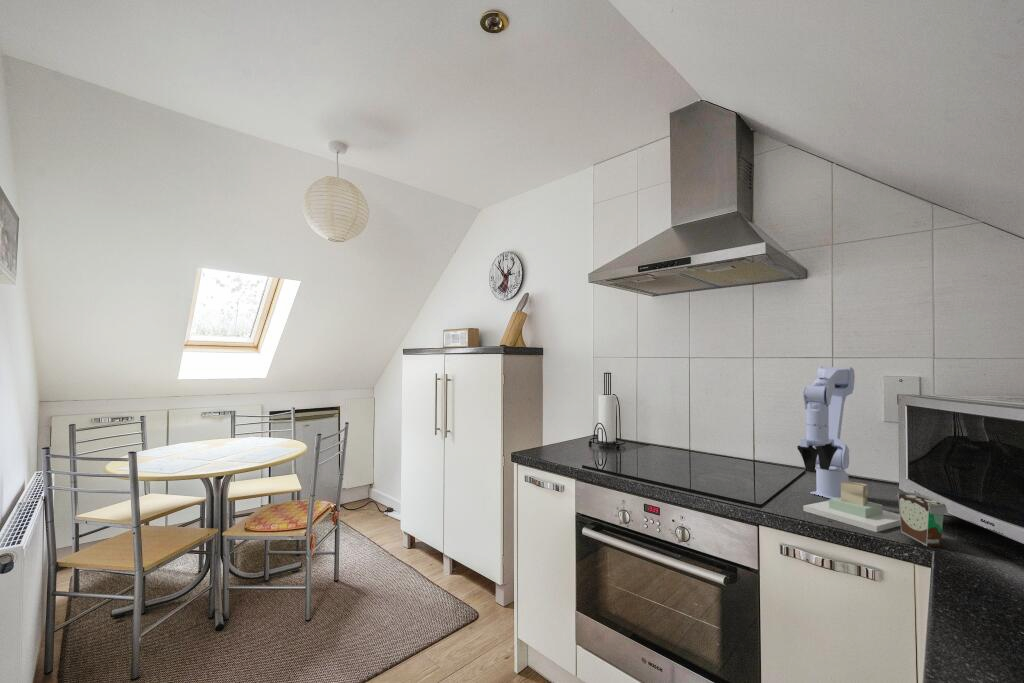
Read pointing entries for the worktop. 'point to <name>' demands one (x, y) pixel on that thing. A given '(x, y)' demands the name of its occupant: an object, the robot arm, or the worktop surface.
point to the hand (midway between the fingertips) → (817, 470)
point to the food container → (921, 517)
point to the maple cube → (854, 493)
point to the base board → (855, 520)
